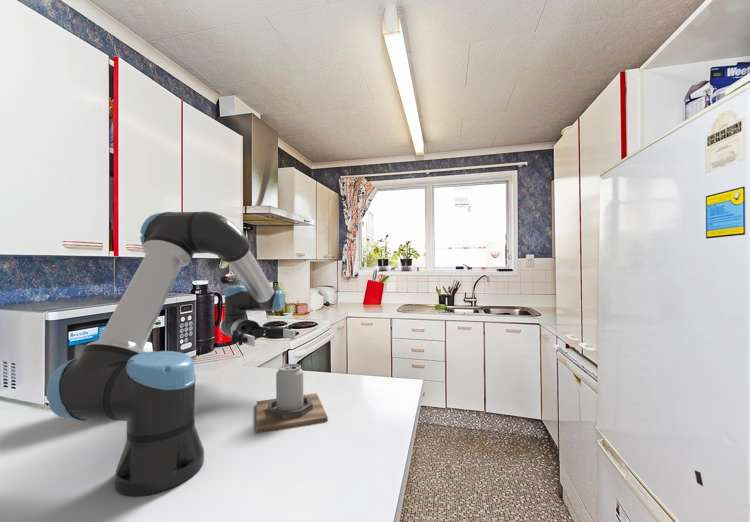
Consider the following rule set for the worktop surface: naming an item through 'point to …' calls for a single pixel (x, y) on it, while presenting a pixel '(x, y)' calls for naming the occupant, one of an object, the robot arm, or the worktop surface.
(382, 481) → the worktop surface
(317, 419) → the ring board
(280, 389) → the can
